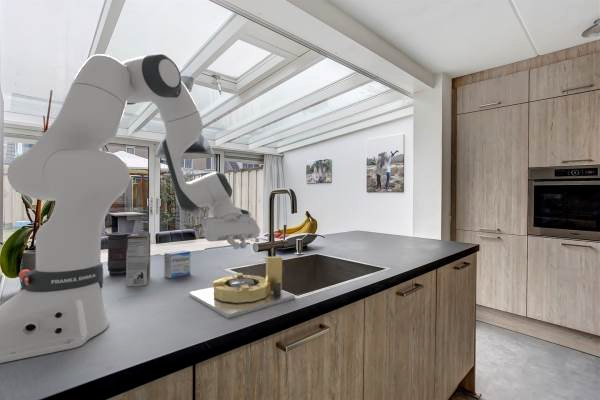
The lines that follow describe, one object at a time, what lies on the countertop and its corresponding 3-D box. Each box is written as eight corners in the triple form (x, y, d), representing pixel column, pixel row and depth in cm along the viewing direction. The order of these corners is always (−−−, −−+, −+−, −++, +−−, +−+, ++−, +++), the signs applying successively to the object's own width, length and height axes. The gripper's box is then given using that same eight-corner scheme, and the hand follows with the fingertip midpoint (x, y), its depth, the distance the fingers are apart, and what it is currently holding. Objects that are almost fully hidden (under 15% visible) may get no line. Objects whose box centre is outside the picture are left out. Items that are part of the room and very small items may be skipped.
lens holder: (202, 299, 83) (203, 262, 83) (228, 282, 99) (229, 252, 99) (267, 305, 79) (268, 267, 79) (284, 287, 95) (285, 255, 95)
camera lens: (137, 271, 116) (138, 232, 115) (123, 277, 108) (123, 235, 107) (117, 271, 116) (118, 231, 116) (101, 276, 108) (102, 234, 108)
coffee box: (130, 279, 106) (130, 232, 105) (150, 277, 108) (151, 232, 108) (125, 287, 97) (125, 236, 97) (147, 285, 99) (148, 235, 99)
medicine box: (170, 279, 107) (170, 254, 107) (163, 276, 110) (164, 252, 109) (190, 274, 113) (190, 251, 113) (183, 272, 116) (184, 249, 116)
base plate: (227, 318, 74) (227, 300, 74) (189, 295, 90) (189, 280, 90) (294, 298, 89) (295, 283, 89) (251, 281, 105) (251, 268, 105)
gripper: (202, 211, 102) (215, 244, 95) (253, 211, 116) (268, 239, 109) (196, 224, 105) (208, 256, 98) (246, 222, 119) (260, 250, 112)
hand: (240, 247), depth 103 cm, fingers closed
